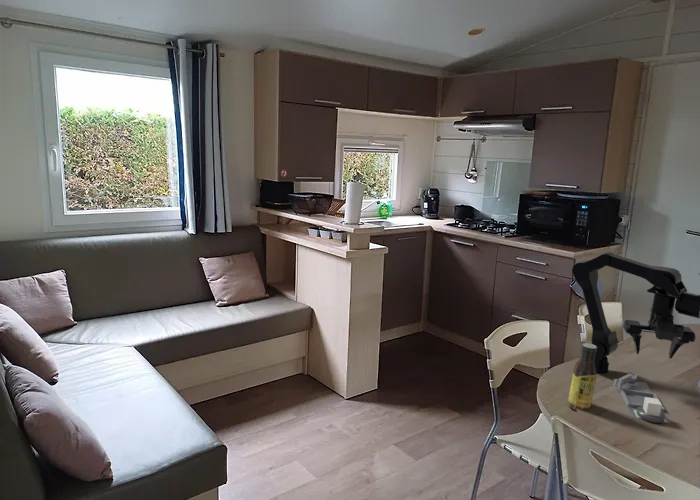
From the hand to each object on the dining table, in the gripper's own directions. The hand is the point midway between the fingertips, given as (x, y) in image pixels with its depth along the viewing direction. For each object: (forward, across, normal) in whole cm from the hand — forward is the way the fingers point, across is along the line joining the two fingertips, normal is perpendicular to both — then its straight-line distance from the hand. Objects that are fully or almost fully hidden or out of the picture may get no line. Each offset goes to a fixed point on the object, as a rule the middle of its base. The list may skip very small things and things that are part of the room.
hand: (653, 355), depth 161 cm
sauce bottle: (+13, -23, -18) cm, 32 cm away
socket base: (+12, -4, -8) cm, 16 cm away
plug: (+11, -4, -19) cm, 22 cm away
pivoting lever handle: (+11, -7, -1) cm, 13 cm away
